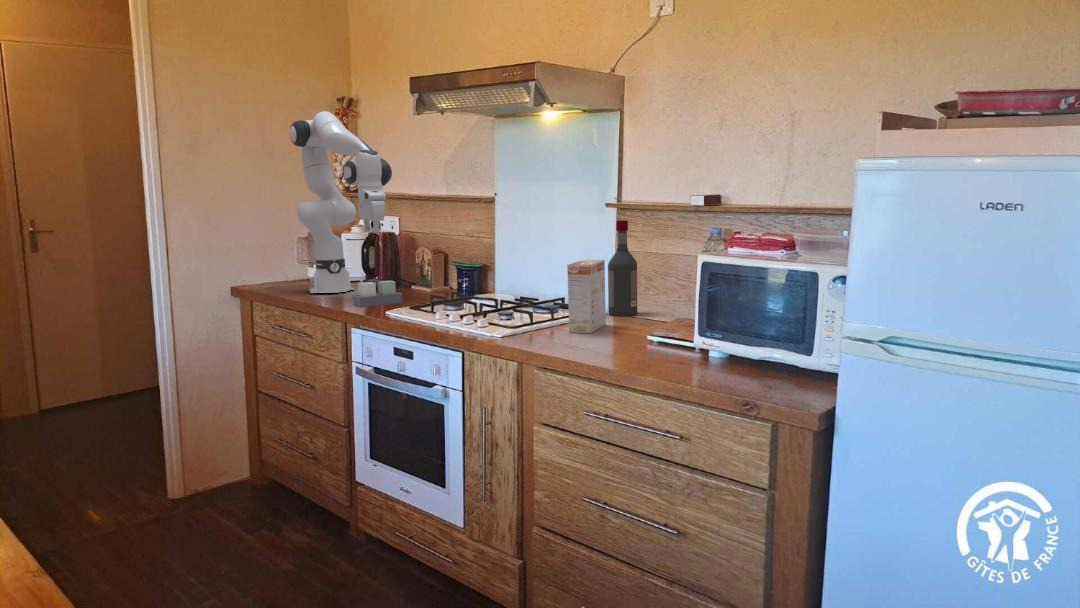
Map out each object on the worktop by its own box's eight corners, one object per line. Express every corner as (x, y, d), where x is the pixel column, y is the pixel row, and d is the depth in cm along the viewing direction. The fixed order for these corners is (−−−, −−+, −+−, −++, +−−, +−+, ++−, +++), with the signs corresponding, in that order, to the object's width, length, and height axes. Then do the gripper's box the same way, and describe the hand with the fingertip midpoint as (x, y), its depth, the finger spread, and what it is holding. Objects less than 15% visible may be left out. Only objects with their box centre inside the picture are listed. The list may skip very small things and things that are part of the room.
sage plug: (378, 302, 281) (377, 281, 280) (391, 301, 284) (390, 280, 283) (383, 304, 277) (382, 282, 276) (396, 303, 280) (395, 281, 278)
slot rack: (353, 306, 278) (352, 295, 278) (394, 301, 286) (394, 291, 286) (360, 308, 271) (359, 297, 270) (402, 304, 279) (402, 293, 278)
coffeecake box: (584, 323, 227) (582, 259, 225) (606, 324, 225) (605, 259, 222) (567, 332, 214) (566, 264, 211) (591, 333, 211) (590, 264, 208)
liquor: (608, 316, 240) (606, 221, 236) (609, 311, 249) (608, 220, 245) (637, 316, 239) (636, 220, 235) (637, 311, 248) (636, 219, 244)
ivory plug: (359, 304, 278) (357, 283, 277) (372, 303, 280) (371, 282, 279) (363, 306, 273) (362, 284, 272) (376, 304, 276) (375, 283, 275)
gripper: (353, 193, 287) (355, 230, 290) (370, 195, 270) (371, 233, 272) (370, 193, 291) (371, 229, 293) (387, 195, 273) (388, 233, 275)
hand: (371, 231), depth 282 cm, fingers open, 8 cm apart
